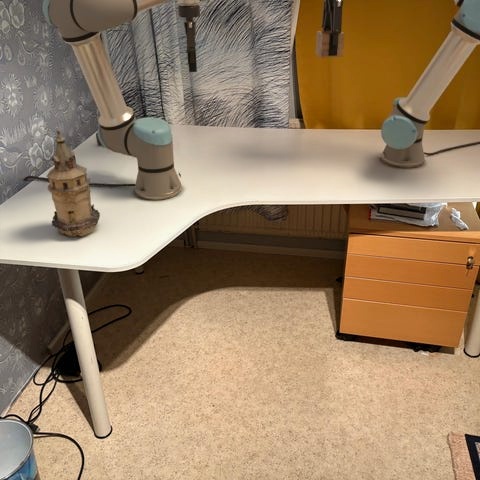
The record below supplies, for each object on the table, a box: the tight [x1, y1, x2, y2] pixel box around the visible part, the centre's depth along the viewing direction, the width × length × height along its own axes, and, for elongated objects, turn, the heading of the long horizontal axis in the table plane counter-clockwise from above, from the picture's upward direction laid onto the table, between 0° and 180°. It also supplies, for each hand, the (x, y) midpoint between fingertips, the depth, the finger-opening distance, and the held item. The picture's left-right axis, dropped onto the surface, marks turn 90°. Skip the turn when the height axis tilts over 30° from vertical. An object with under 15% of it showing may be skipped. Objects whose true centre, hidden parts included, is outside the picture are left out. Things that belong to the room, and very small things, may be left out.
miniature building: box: [45, 129, 101, 237], centre depth 148 cm, size 13×14×30 cm
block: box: [315, 30, 346, 59], centre depth 178 cm, size 7×8×7 cm
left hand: (192, 67), depth 195 cm, fingers open, 13 cm apart
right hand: (329, 53), depth 179 cm, fingers closed on block, 7 cm apart
